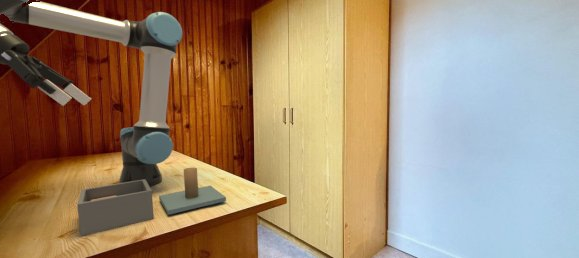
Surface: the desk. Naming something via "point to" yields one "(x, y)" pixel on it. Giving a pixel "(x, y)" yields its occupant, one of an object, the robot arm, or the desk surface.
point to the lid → (191, 195)
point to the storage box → (114, 206)
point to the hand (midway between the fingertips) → (78, 102)
